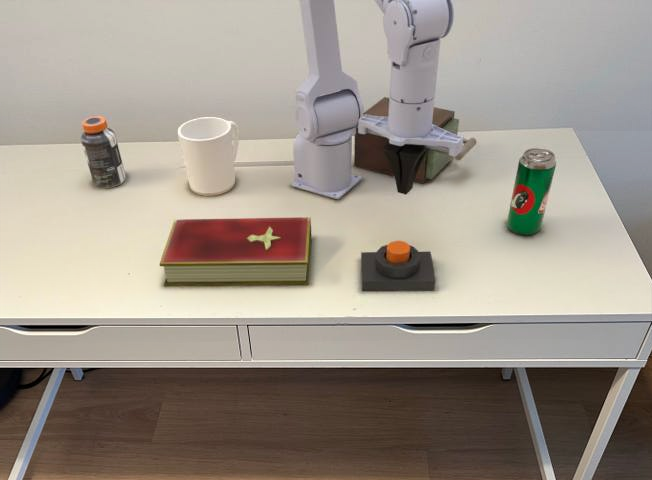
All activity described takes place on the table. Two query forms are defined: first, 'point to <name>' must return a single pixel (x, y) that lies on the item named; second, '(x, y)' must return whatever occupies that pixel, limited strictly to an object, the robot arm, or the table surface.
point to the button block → (397, 271)
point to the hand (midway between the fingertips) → (404, 190)
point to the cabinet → (371, 145)
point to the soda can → (531, 191)
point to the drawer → (441, 158)
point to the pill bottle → (102, 153)
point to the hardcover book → (238, 252)
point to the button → (398, 252)
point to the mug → (209, 154)
